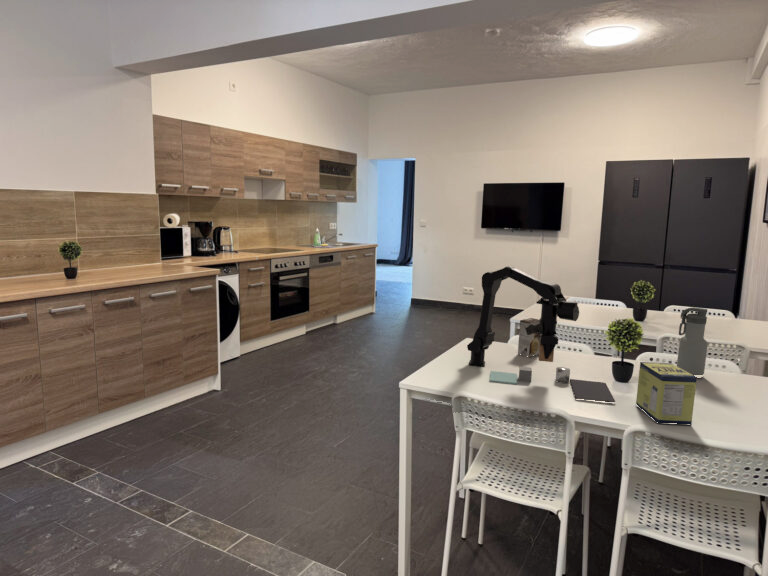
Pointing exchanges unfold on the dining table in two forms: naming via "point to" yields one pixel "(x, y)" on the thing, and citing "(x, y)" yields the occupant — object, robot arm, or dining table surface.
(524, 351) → the coffee box
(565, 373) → the grey metal cylinder
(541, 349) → the walnut block
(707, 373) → the dining table surface
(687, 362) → the water bottle
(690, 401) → the protein box
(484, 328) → the robot arm
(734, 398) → the dining table surface
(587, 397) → the notebook
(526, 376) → the dark grey plastic block
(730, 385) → the dining table surface
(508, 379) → the teal mat
